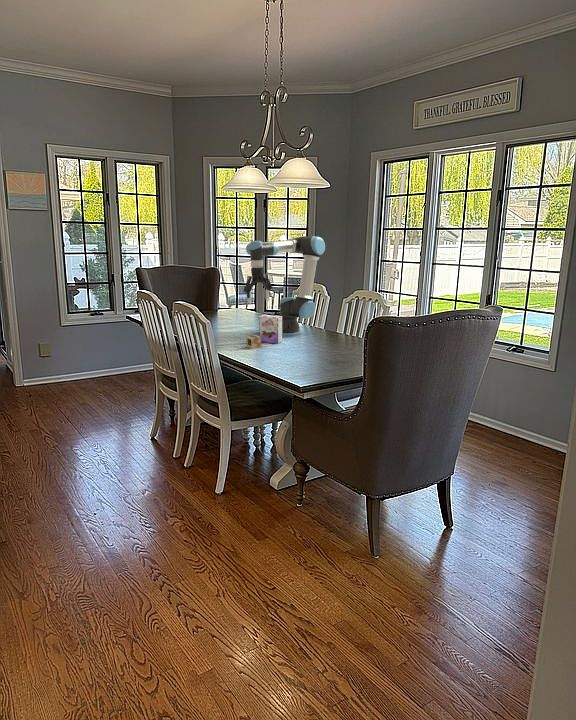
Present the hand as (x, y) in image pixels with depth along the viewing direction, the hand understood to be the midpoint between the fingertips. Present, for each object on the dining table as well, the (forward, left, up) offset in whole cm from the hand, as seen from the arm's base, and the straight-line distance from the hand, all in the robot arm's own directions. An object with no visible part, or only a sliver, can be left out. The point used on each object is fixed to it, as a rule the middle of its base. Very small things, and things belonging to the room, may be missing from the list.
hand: (258, 301), depth 326 cm
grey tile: (+4, +11, -25) cm, 27 cm away
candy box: (-5, +6, -25) cm, 26 cm away
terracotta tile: (+12, +11, -25) cm, 30 cm away
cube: (+12, +11, -25) cm, 29 cm away
